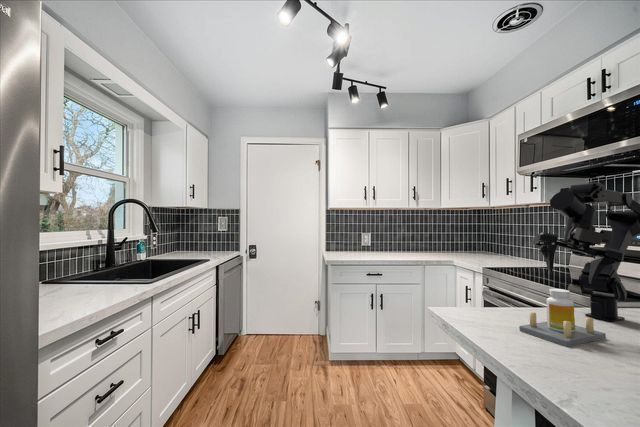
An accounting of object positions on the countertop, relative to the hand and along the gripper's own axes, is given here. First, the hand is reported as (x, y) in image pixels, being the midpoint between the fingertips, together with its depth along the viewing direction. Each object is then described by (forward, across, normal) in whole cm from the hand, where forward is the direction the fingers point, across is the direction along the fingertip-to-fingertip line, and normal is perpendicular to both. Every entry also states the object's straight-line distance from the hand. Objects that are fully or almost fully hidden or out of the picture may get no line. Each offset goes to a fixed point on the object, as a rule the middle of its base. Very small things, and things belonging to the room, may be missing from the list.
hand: (570, 277), depth 81 cm
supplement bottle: (+15, -2, -4) cm, 15 cm away
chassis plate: (+16, -1, -4) cm, 16 cm away
